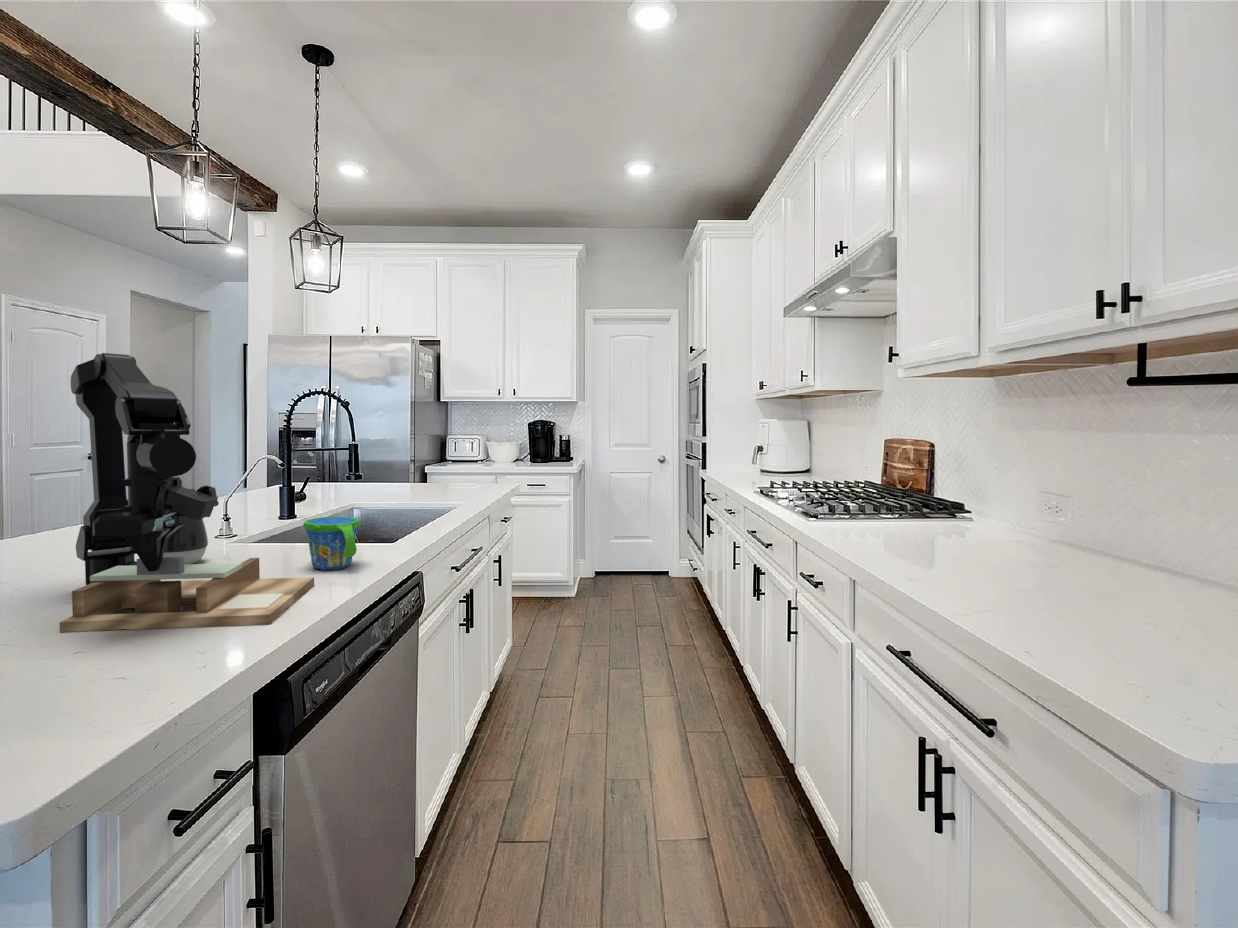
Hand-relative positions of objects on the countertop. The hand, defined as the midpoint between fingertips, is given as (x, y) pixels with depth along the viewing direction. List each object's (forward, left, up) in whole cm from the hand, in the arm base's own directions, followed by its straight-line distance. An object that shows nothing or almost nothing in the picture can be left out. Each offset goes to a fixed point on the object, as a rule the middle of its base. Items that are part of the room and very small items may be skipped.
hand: (153, 570), depth 96 cm
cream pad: (+14, +1, -6) cm, 15 cm away
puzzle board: (+5, +6, -7) cm, 10 cm away
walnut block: (0, +1, -8) cm, 8 cm away
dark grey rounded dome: (-14, +38, -8) cm, 41 cm away
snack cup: (+18, +32, -8) cm, 38 cm away
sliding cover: (0, +5, -2) cm, 5 cm away
